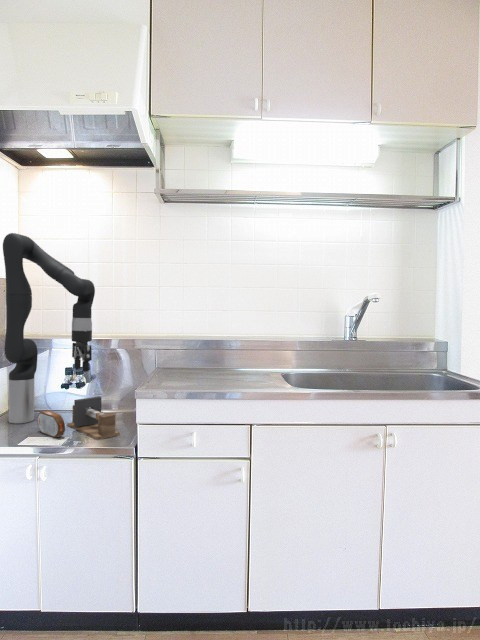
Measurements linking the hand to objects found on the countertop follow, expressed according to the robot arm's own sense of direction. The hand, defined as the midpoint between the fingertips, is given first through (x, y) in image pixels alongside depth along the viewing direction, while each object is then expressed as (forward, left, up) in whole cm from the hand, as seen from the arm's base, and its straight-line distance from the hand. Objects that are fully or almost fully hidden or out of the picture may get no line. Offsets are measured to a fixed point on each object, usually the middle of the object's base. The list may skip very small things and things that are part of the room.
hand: (81, 370), depth 167 cm
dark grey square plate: (+6, 0, -20) cm, 21 cm away
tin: (+5, -14, -22) cm, 27 cm away
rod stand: (+10, 0, -22) cm, 24 cm away
